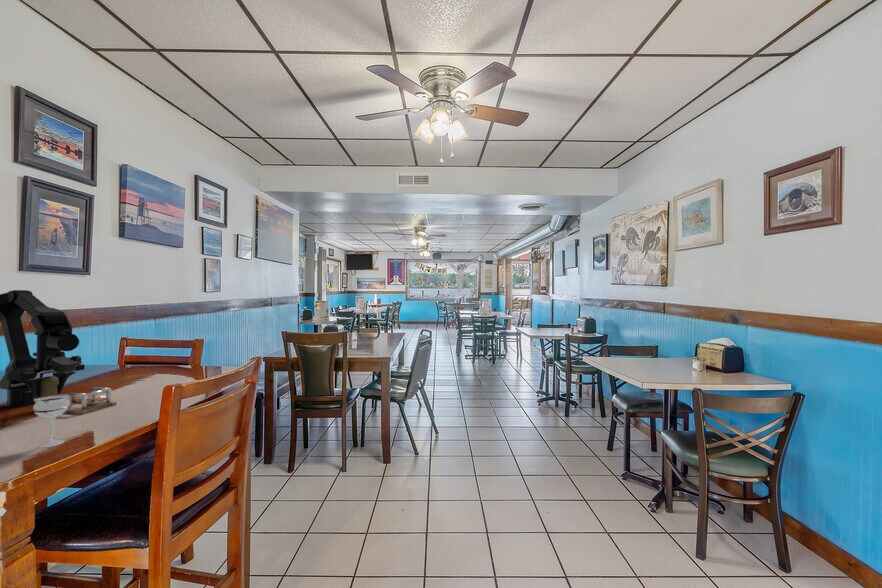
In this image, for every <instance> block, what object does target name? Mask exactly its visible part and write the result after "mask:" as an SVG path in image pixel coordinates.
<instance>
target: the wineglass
mask: <svg viewBox="0 0 882 588" xmlns="http://www.w3.org/2000/svg"><path fill="white" fill-rule="evenodd" d="M69 396H70V395H67V394H61V393H60V394H58V395H50V396H44V397H39V398H36V399H35V398H34V401H35V402H36V403H34V405H33V407H32V409H33V412H34V414H35V415H37V416H38V417H40V418H45V419H47V420H48V421H49V440H48V441H47V440H46V441H45V442H41V443H39V444H37V448H42V449H43V448H50V447H56V446H59V445H61V444H64V443H65V440H60V439H53V435H54V422H55V419H57V418H58V417H59V416H61V415H63V414H65V413H64V412H65V411H66V410H68V408H69V405H70V401H69V400H68V398H69ZM63 442H64V443H63Z"/></svg>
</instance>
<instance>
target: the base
mask: <svg viewBox="0 0 882 588" xmlns="http://www.w3.org/2000/svg"><path fill="white" fill-rule="evenodd" d="M113 405H114V406H117V401H111V403H106V400H103V401H96V402H91V401H90V402H87V410H82V407H75V406H71V408H70V409H68V410H66V411H65V412H64V413H63V414H74V415H86V413H87V414H90V413H93V412H96V410H97V411H100V410H104V409H106V407H107V408H110V407H109V406H111V407H114V406H113ZM103 408H104V409H103Z"/></svg>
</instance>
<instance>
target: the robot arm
mask: <svg viewBox="0 0 882 588" xmlns="http://www.w3.org/2000/svg"><path fill="white" fill-rule="evenodd" d="M25 312H26V313H27V315H29V316H30V317H31V319H30V323H31V324H32V326H33V327H34V328H35V329H36V331H35V332H34V335H35V336H36V352H33V353H32V355H31V353H30V349H29V344H28V341H27V336H26V334H25V329H24V325H23V322H22V316H23V315H24V313H25ZM0 324H1V325H0V326H1V328H2V333H3V336H4V341H5V344H6V348H7V353H8V357H9V362H8V364H7V365H6V367H5V369H4V374H3V376H2V378H1V379H0V390H6V392H7V397H6V403H3V404H1V405H0V406H1V407H8V408H19V407H25V406H28V405H33V404H36V402H35V401H34V399H36V398H39V397H40V383H41V381H42V380H43V379H44V378H42V377H44V374H45V375H46V374H50V373H52V376H55V377H58V378H59V384H58V385H57V390H58V395H60V394H61V393H62V391H63V388H64V386H65V384H66V382H67V380H68V379H69V378H70V377H71V376H72V375H74V374H76V373H77V372H78V371H79V372H80V371H83V370H85V366H86V365H85V363H84V362H83V361H82V357H81V355H73V356H71V357H70V356H69V357H67V356H66V352H71V351H73V350H75V349H77V348H78V346H79V344H80V339H79V336H77V335H76V334H74V333H73V325H72V323H71V321H70V320H69V319H68V316H67V315H66V313H65V311H62V310H60V309H58V308H54V307H49V306H47V305H46V304H45V303H44V302H43V301H41V300H40V299H39V298H37V297H36V296H35V295H34V294H33V292H32V290H28V289H12V290H9V291H8V292H4V293H0Z"/></svg>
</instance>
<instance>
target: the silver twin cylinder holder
mask: <svg viewBox="0 0 882 588" xmlns="http://www.w3.org/2000/svg"><path fill="white" fill-rule="evenodd" d="M90 390H91V391H90V392H88V393H77V392H76V393H75V392H68V393H67V394H66V395H70V396H69V398H68V400H69V401H70V405H69V408H68V409H70V408H71V407H72V398H76V397H80V398H82V403H81V408H82V410H87V407H88V406H87V397H90V396H91V402H96V395H98V394H102V393H106V400H105V401H106V403H111V402H112V397H111V394H112V389H111V388H110V387H96V386H95V387H92V388H91V389H90Z"/></svg>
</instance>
